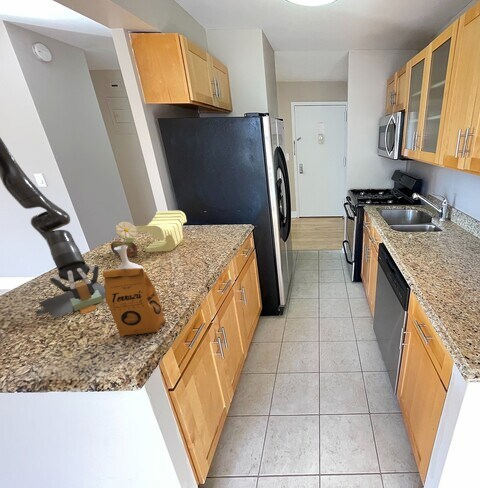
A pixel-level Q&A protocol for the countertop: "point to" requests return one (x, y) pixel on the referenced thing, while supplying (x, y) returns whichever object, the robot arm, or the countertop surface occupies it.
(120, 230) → the flower in vase
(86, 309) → the orange flat rounded piece
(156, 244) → the slatted curved stool
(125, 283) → the coffee package
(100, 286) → the griddle pan
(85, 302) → the scrub brush
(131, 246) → the multicolored arch
